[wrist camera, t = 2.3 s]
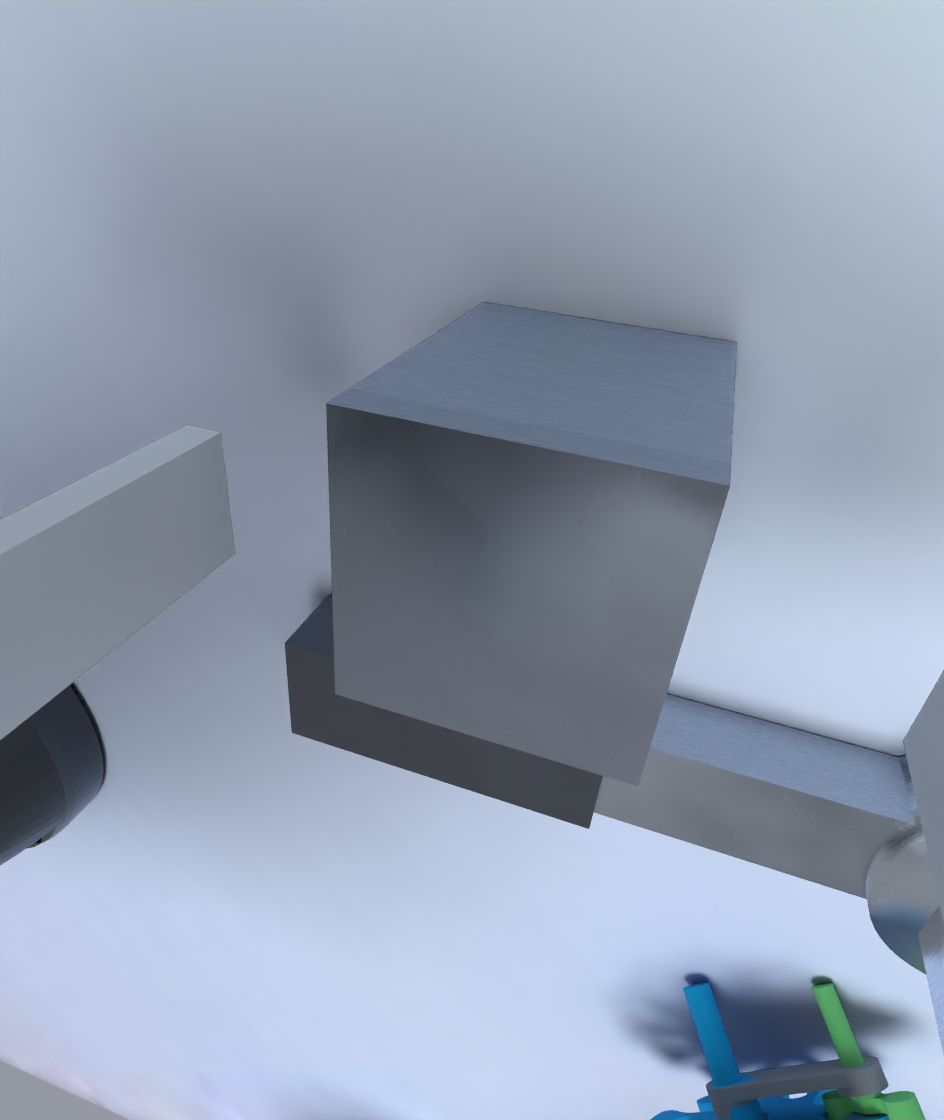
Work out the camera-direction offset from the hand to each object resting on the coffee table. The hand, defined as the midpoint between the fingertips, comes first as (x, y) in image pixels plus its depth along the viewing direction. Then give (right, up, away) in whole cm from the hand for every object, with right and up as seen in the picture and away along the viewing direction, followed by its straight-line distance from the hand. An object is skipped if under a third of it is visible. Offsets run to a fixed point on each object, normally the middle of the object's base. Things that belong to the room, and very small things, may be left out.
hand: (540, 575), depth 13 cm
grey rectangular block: (+2, +3, +6) cm, 7 cm away
